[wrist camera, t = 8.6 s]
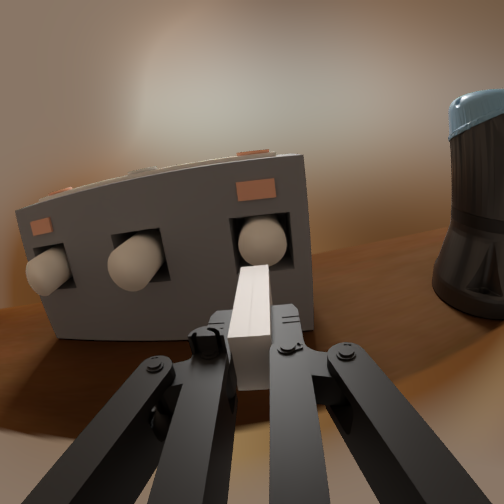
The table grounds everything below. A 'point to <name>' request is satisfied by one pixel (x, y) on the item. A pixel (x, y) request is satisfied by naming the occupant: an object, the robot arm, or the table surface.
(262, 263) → the button
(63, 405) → the table surface
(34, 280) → the button
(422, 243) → the table surface
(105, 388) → the table surface
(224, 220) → the button panel
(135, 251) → the button middle
